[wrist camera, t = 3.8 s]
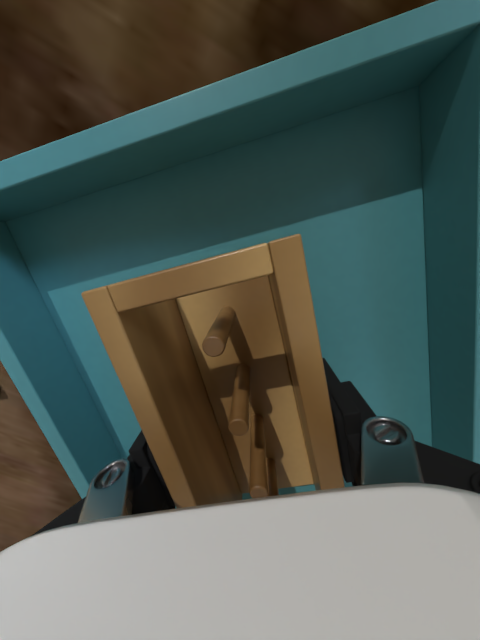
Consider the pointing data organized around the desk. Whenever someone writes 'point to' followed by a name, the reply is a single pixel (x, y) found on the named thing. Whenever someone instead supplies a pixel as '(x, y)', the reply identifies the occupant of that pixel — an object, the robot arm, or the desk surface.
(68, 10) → the desk surface
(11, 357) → the teal tray
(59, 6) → the desk surface
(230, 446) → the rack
